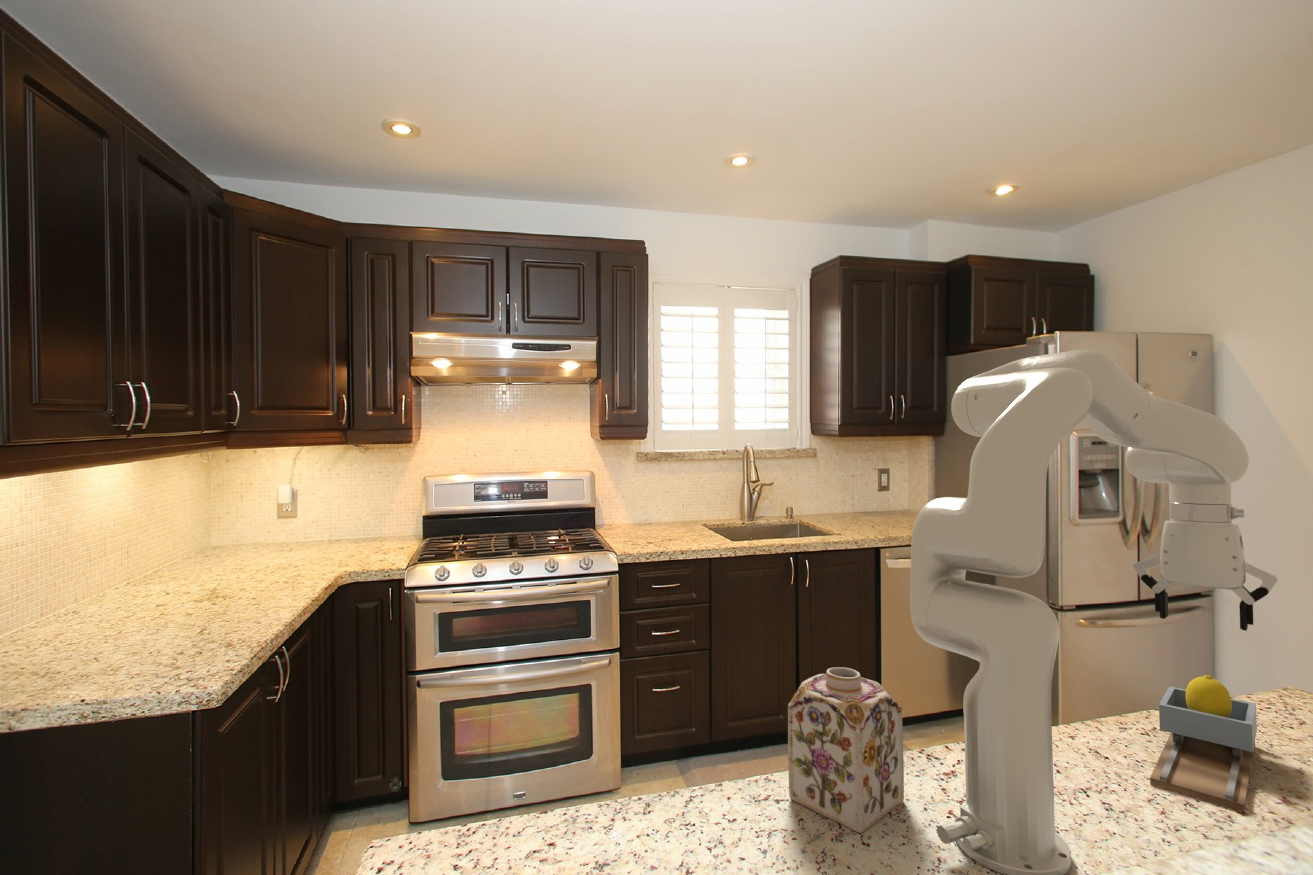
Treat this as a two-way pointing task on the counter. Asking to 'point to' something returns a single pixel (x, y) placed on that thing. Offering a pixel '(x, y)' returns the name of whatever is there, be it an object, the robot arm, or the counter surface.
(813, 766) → the decorative jar
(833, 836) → the counter surface
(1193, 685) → the lemon
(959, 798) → the counter surface
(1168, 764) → the track
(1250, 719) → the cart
